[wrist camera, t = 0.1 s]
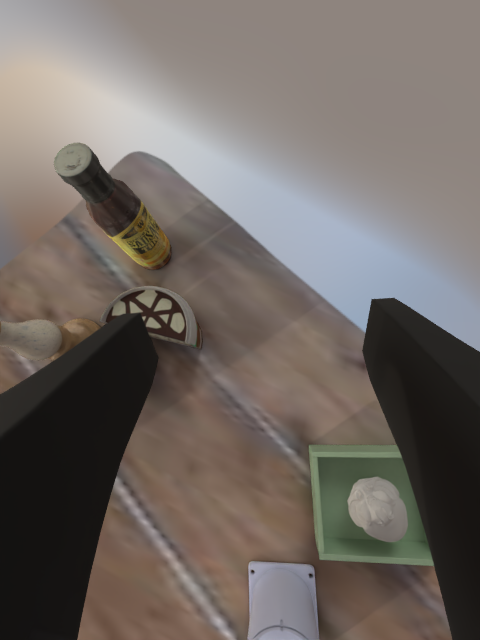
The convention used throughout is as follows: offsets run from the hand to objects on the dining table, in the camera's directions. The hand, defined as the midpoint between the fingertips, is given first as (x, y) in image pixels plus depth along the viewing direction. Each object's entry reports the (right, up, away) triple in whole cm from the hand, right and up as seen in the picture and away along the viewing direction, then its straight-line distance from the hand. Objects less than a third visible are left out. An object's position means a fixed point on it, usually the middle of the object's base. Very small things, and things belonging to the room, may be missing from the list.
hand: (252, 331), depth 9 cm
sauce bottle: (-14, +11, +38) cm, 42 cm away
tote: (+15, -21, +26) cm, 37 cm away
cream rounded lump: (+15, -21, +26) cm, 37 cm away
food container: (-10, 0, +35) cm, 36 cm away
